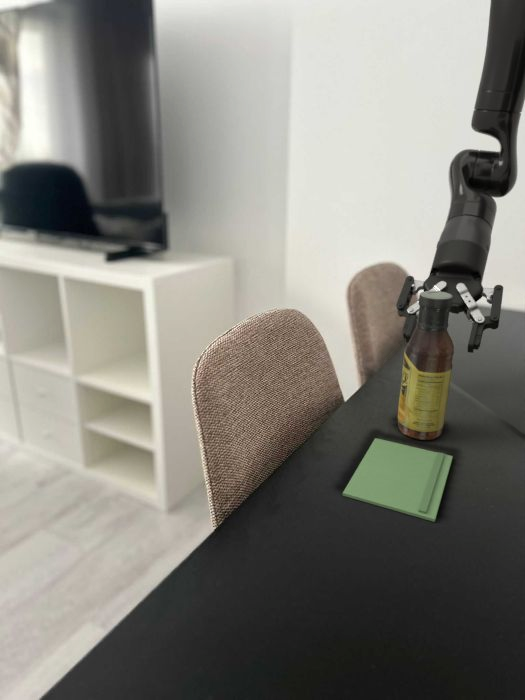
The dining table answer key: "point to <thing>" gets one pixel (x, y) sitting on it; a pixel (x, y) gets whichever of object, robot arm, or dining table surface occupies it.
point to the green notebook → (401, 479)
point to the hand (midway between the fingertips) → (438, 345)
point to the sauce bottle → (427, 369)
